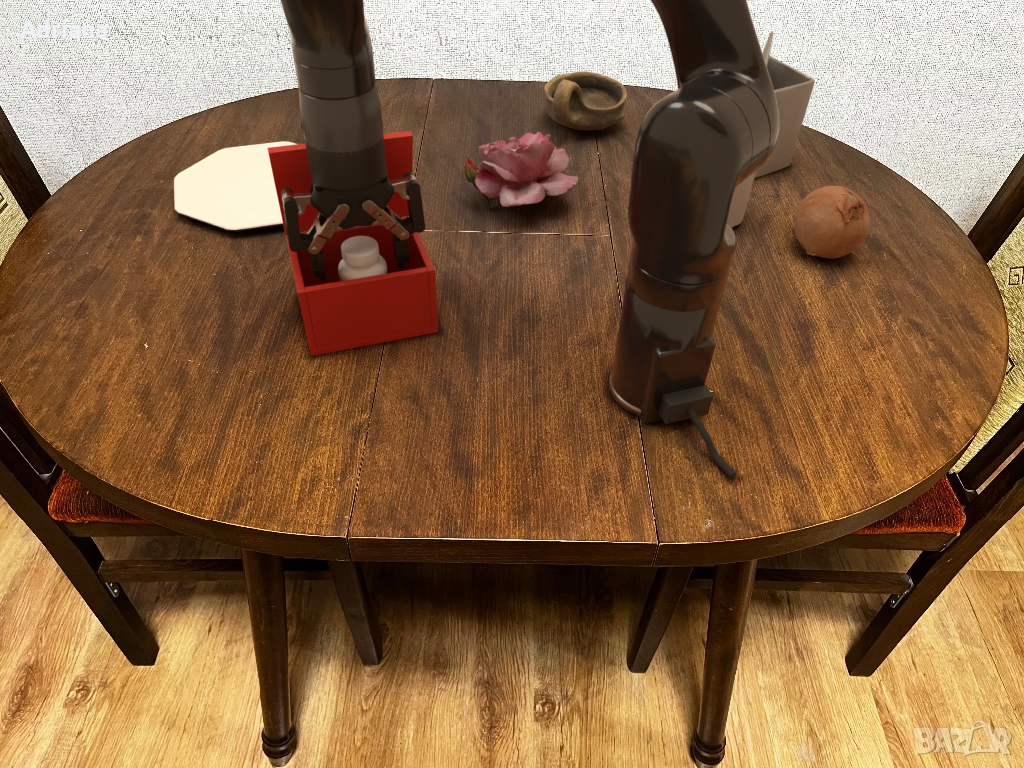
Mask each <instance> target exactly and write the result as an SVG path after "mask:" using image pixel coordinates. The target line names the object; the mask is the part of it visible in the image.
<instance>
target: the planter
mask: <svg viewBox="0 0 1024 768" xmlns="http://www.w3.org/2000/svg"><path fill="white" fill-rule="evenodd" d="M773 39H774V31H770V33H769V35H768V37H767V40H766V42H765V45H764V48H763V50H762V53H763V56H764V60H765V63H766V66H767V69H768V72H769V76H770V79H771V82H772V86H773V89H774V93H775V96H776V100H777V105H778V110H779V121H780V124H779V134H778V139H777V143H776V146H775V148H774V150H773V152H772V154H771V155H770V157H769V158H768V160H767V161H766V162H765V163H764V164H763V165H762V166H761V167H760V168H759V169H758V170H757V171H756V173H755V177H754V179H756V178H759V177H762V176H765V175H769V174H771V173H774V172H778V171H781V170H783V169H785V168H787V167H789V166H790V165H791V163H792V158H793V156H794V152H795V148H796V146H797V142H798V139H799V136H800V132H801V129H802V126H803V122H804V120H805V115H806V113H807V109H808V105H809V102H810V99H811V97H812V93H813V89H814V87H815V83H816V79H814V78H812V77H810V76H809V75H807V74H805V73H804V72H802V71H801V70H799V69H796V68H794V67H792V66H791V65H788V64H786V63H785V62H782V61H781V60H779V59H777V58H775V57H774V56H772V55H770V53H771V48H772V43H773Z"/></svg>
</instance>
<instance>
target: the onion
mask: <svg viewBox="0 0 1024 768" xmlns="http://www.w3.org/2000/svg"><path fill="white" fill-rule="evenodd" d="M792 221H793V227H792V228H791V234H792V236H795V238H796V239H797V241H798V243H799V244H800V246H801V247H802V248H803V249H804V250H805V252H806V255H810V256H813V257H818V258H824V259H838V258H842V257H845V256H847V255H850V254H851V253H853V252H854V251H855V250H857V249H858V248H859V247H860V246H861V245H862V244H863V243H864V242H865V240H866V239H867V237H868V235H869V233H870V229H871V217H870V211H869V207H868V205H867V203H866V201H864V199H863V198H862V197H861V196H860V195H859V194H858V193H857V192H855V191H853V189H850V188H847V187H846V186H841V185H825V186H822V187H820V188H817V189H814V190H813V191H812V192H810V193H809V194H807V195H806V196H805V197H804V198H803V199H802V200H801V201H800V202H799V204H798V206H797V207H796V210H795V212H794V215H793V219H792Z"/></svg>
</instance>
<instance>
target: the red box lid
mask: <svg viewBox="0 0 1024 768" xmlns="http://www.w3.org/2000/svg"><path fill="white" fill-rule="evenodd" d="M384 144H385V155H386V165H387V175H388V178H389V179H390V180H395V179H400V178H403V177H404V175H405V173H407V172H412V173H413V174H414V172H413V170H414V169H413V168H414V167H413V166H414V165H413V164H414V163H413V161H414V160H413V158H414V155H413V154H414V134H413V131H412V130H404V131H396V132H395V131H394V132H387V133H384ZM267 149H268V154H269V158H270V163H271V168H272V173H273V178H274V183H275V187H276V192H277V197H278V202H279V207H280V211H281V216H282V221H283V225H282V226H283V229H284V231H283V232H284V234H285V235H287V231H286V224H285V216H284V209H283V201H282V191H283V190H284V189H286V188H289V189H291V190H293V192H294V193H298V192H309V191H310V188H311V185H312V180H311V174H310V169H309V163H308V157H307V151H306V145H305V142H304V143H295V145H287V146H279V147H270V148H267ZM387 205H389V206H390V208H391V209H392V210H393V211H394V212H395V213H396V214H397V215H398V216H399V217H400V218H407V217H409V212H408V205H407V200H404V199H402V198H401V196H400V194H399V193H397V192H394V194H393V196H392V198H391V200H390V201H389V203H388V204H387ZM318 212H319V211H317V210H316V209H315V208H314V207H313V206H312V204H309V205H307V206H306V208H305V212H304V214H302V215H301V216H298V219H299V227H300V233H306V232H308V231H309V230H310V228H311V226H312V225H313V223H314V219H315V216H316V215H317V213H318ZM375 222H378V221H377V220H376V221H375Z"/></svg>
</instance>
